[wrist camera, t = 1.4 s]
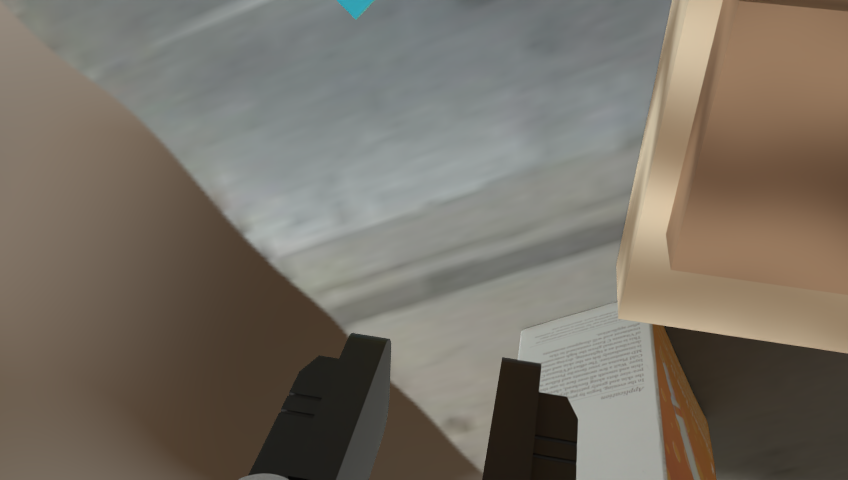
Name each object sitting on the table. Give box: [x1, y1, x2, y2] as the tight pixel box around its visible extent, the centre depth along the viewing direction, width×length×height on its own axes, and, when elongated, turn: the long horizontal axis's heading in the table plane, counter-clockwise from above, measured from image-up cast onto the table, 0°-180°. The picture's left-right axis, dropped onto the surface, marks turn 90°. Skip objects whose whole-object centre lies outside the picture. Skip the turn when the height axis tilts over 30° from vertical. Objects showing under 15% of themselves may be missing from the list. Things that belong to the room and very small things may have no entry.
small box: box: [518, 302, 716, 480], centre depth 32 cm, size 8×6×13 cm
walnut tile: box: [666, 0, 848, 295], centre depth 25 cm, size 9×6×2 cm, turn 177°
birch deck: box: [616, 0, 848, 353], centre depth 28 cm, size 17×12×4 cm
